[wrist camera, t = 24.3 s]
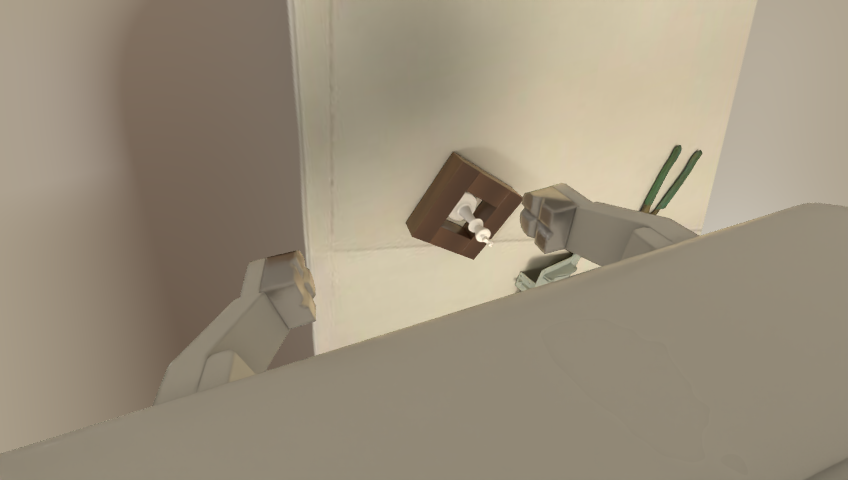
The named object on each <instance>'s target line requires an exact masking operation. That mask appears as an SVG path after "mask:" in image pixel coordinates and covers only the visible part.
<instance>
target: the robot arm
mask: <svg viewBox="0 0 848 480" xmlns="http://www.w3.org/2000/svg"><path fill="white" fill-rule="evenodd" d="M522 204H523V205H524V207H525V208H524V209H523V210H522V212H521V213H520V223H521V227H522V229H523V231H524V233H525V234H526V235H527V236H529V237H532V238H535V241H534V243H535V244H536V245H537V246H538V247H539V248H540V250H541V251H542V252H543V253H544V254H547V253H550V252H554V251H558V250H562V249H565V250H568V251H570V252H572V253H574V254H576V255H578V256H581V257H583V258H585V259H587V260H589V261H591V262H594V263H596V264H598V265H600V266H602V267H599V268H595V269H592V270H589V271H586V272H583V273H580V274H576V275H573V276H570V277H567V278H563V279H560V280H557V281H554V282H550V283H547V284H544V285H541V286H538V287H534V288H531V289H528V290H525V291H521V292H518V293H515V294H512V295H508V296H505V297H502V298H499V299H496V300H492V301H489V302H486V303H483V304H480V305H476V306H473V307H470V308H467V309H464V310H460V311H457V312H454V313H451V314H448V315H444V316H441V317H438V318H435V319H432V320H428V321H425V322H422V323H419V324H416V325H412V326H409V327H406V328H403V329H400V330H396V331H393V332H390V333H387V334H384V335H380V336H377V337H374V338H371V339H367V340H364V341H361V342H358V343H355V344H351V345H348V346H345V347H342V348H339V349H335V350H332V351H329V352H326V353H323V354H319V355H316V356H313V357H310V358H307V359H303V360H300V361H297V362H294V363H291V364H288V365H284V366H281V367H278V368H275V369H271V370H268V371H266V370H267V368H268V366H269V364H270V363H271V361H272V359H273V358H274V356H275V354H276V353H277V351H278V349H279V348H280V346H281V344H282V343H283V341H284V339H285V338H286V336H287V334H288V333H289V329H292V328H296V327H299V326H302V325H305V324H308V323H311V322H314V321H316V305H315V303H314V301H313V298H314V297H315V285H314V280H313V277H312V274H311V272H310V270H309V269H308V268H306V267H304V261H305V259H304V257H303V255H302V254H301V252H300V251H299V250H297V251H293V252H288V253H284V254H280V255H276V256H271V257H267V258H263V259H259V260H255V261H251V262H250V263H249V264H248V267H247V271H246V275H245V279H244V283H243V287H242V291H241V295H240V298H238V299H235V300H234V301H233V302H232V303H231V304H230V305H229V306H228V307H227V308H226V309H225V310H224V311H223V312H222V313H221V314H220V315H219V316H218V317H217V318H216V319H215V320H214V321H213V322H212V323H211V324H210V325H209V326H208V327H207V328H206V329H205V330H204V331H203V332H202V333H201V334H200V335H199V336H198V337H197V338H196V339H195V340H194V341H192V342H191V344H190V345H188V347H186V349H184V351H183V352H181V354H179V356H178V357H176V359H174V361H172V362H171V364H169V366H168V368H167V370H166V373H165V375H164V378H163V380H162V383H161V385H160V388H159V390H158V393H157V395H156V398H155V400H154V403H153V405H152V407H149V408H146V409H143V410H139V411H136V412H133V413H130V414H127V415H124V416H120V417H117V418H114V419H111V420H107V421H104V422H101V423H98V424H94V425H91V426H88V427H85V428H82V429H78V430H75V431H72V432H69V433H66V434H62V435H59V436H56V437H53V438H49V439H46V440H43V441H40V442H37V443H33V444H30V445H27V446H24V447H20V448H18V449H14V450H11V451H7V452H4V453H1V454H0V480H848V207H845V206H838V205H831V204H822V203H807V204H802V205H797V206H794V207H791V208H788V209H784V210H781V211H778V212H775V213H772V214H768V215H765V216H762V217H759V218H756V219H753V220H750V221H746V222H743V223H740V224H736V225H733V226H730V227H727V228H724V229H720V230H717V231H714V232H711V233H708V234H705V235H701V236H699V235H697V234H695V233H694V232H692V231H690V230H689V229H687V228H685V227H684V226H682V225H680V224H678V223H677V222H675V221H673V220H672V219H670V218H665V217H661V216H657V215H652V214H648V213H644V212H639V211H635V210H630V209H626V208H622V207H617V206H613V205H609V204H604V203H600V202H594V203H593V202H591V201H590V200H588V199H587V198H586V197H584V196H583V195H581V194H580V193H578V192H577V191H575V190H574V189H572V188H571V187H569V186H568V185H567V184H564V183H559V184H556V185H552V186H549V187H547V188H543V189H539V190H535V191H531V192H528V193H525V194H524V196H523V198H522Z"/></svg>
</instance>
